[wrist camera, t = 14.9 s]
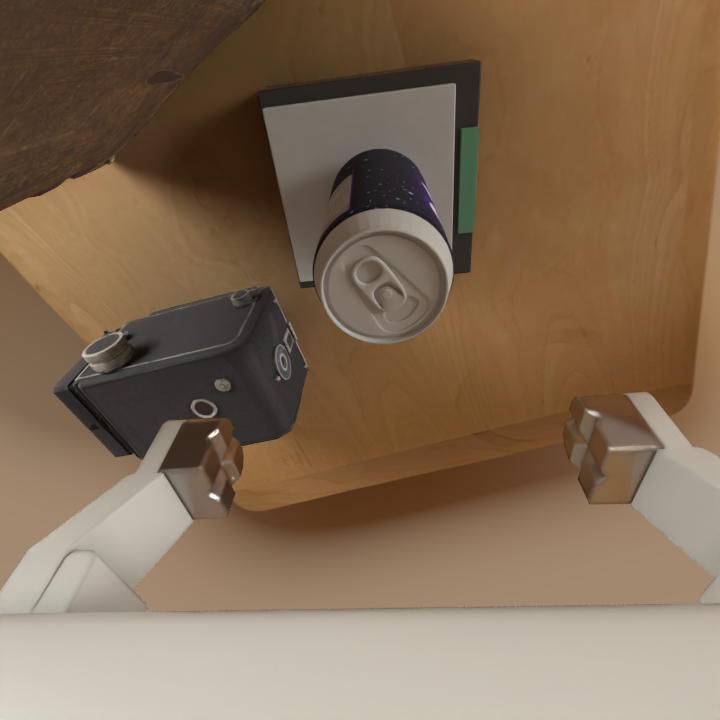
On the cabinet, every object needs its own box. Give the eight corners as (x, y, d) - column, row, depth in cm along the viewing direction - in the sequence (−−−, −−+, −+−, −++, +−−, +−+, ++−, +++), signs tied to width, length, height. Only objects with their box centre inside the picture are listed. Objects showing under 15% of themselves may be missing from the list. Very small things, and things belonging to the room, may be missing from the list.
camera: (268, 240, 31) (94, 301, 33) (246, 314, 22) (5, 393, 24) (319, 350, 37) (169, 396, 39) (318, 444, 28) (122, 499, 30)
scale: (472, 59, 23) (484, 61, 21) (464, 258, 31) (472, 276, 28) (265, 87, 24) (253, 92, 22) (304, 273, 32) (299, 292, 29)
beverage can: (370, 258, 28) (370, 373, 18) (312, 188, 25) (277, 280, 15) (443, 205, 25) (487, 303, 16) (389, 122, 23) (402, 180, 13)
